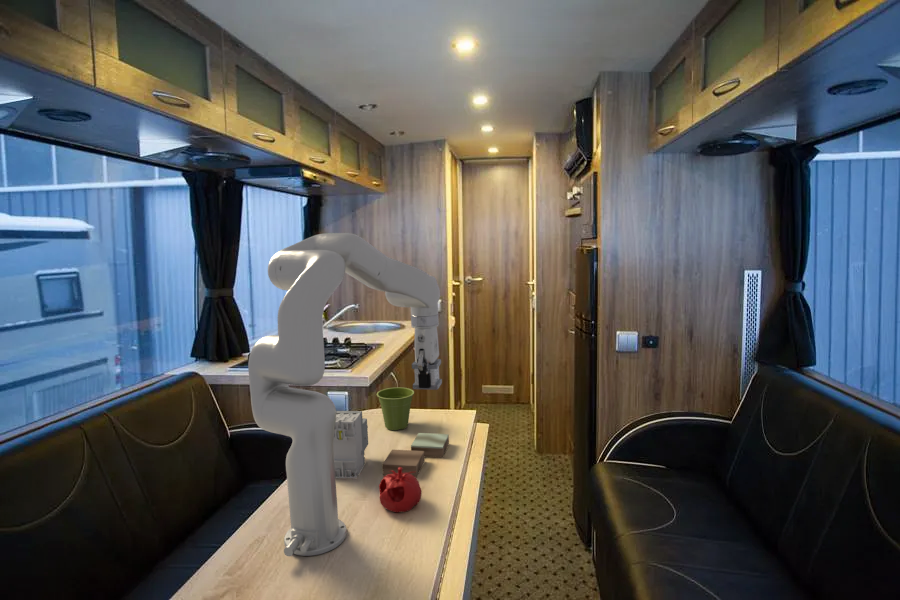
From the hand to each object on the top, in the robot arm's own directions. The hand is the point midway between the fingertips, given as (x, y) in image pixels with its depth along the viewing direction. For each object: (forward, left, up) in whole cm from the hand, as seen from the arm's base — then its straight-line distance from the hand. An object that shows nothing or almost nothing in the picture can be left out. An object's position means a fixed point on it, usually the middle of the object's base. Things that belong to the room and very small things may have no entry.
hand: (427, 383), depth 149 cm
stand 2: (0, 0, -20) cm, 20 cm away
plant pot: (+16, +14, -20) cm, 29 cm away
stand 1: (-12, +4, -20) cm, 23 cm away
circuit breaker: (-12, +19, -20) cm, 30 cm away
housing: (0, 0, -1) cm, 1 cm away
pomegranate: (-30, 0, -20) cm, 36 cm away
